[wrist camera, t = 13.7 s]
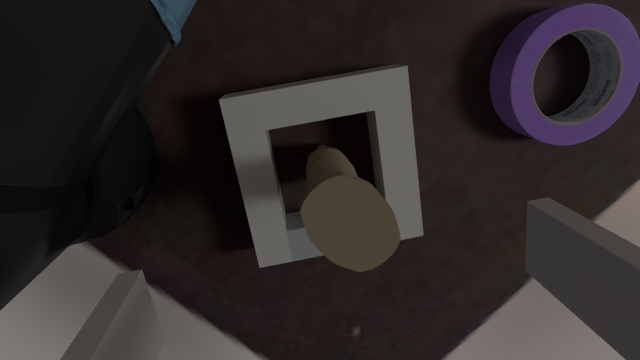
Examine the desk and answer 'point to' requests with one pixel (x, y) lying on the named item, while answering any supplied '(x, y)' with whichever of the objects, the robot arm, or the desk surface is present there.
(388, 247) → the handle
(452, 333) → the desk surface
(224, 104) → the socket
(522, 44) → the masking tape
